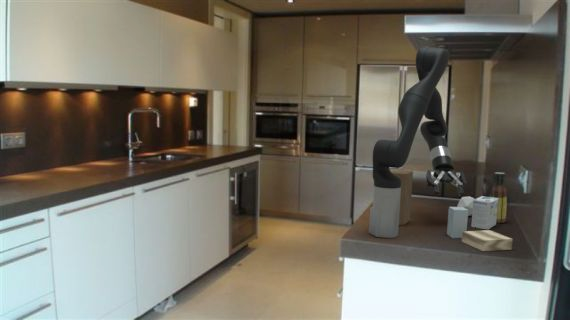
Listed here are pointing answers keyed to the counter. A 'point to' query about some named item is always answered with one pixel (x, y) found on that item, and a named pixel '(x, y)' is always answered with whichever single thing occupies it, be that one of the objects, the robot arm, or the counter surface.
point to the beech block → (487, 240)
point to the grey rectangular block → (457, 221)
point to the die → (467, 204)
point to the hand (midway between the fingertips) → (449, 195)
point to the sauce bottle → (500, 196)
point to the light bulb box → (484, 212)
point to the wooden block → (404, 194)
